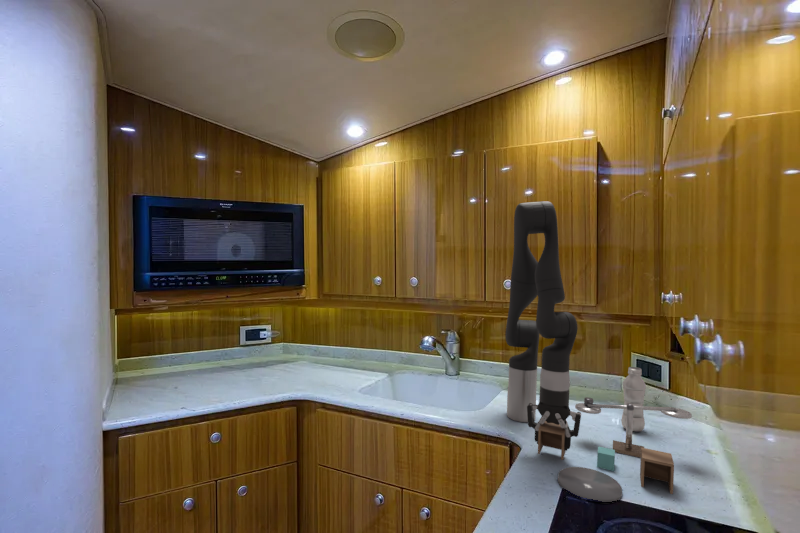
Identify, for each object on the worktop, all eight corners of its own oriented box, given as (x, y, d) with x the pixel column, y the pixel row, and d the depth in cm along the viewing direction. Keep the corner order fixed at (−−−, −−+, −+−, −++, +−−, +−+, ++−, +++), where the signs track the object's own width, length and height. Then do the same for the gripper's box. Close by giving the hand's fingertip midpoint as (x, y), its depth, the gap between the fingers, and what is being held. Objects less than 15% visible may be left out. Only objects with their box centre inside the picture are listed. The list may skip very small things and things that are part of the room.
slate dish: (546, 473, 105) (546, 469, 105) (594, 468, 108) (595, 464, 108) (581, 506, 91) (581, 501, 91) (636, 499, 94) (636, 495, 94)
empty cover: (640, 474, 105) (641, 447, 105) (669, 481, 102) (671, 453, 102) (641, 486, 100) (642, 457, 100) (672, 494, 97) (674, 464, 97)
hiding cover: (541, 444, 117) (542, 420, 117) (565, 450, 114) (566, 424, 114) (537, 453, 112) (538, 428, 111) (563, 459, 109) (564, 433, 108)
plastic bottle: (649, 433, 131) (652, 370, 130) (630, 434, 130) (632, 371, 129) (634, 425, 137) (637, 365, 137) (616, 426, 136) (618, 365, 136)
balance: (572, 443, 122) (574, 394, 122) (575, 435, 128) (576, 388, 128) (691, 469, 109) (693, 414, 108) (687, 458, 115) (689, 406, 115)
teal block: (597, 461, 112) (598, 446, 112) (614, 464, 110) (614, 449, 110) (596, 467, 109) (597, 452, 109) (614, 471, 107) (614, 456, 107)
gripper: (524, 384, 113) (522, 445, 113) (582, 394, 106) (579, 458, 106) (529, 377, 119) (527, 435, 120) (584, 386, 112) (582, 447, 113)
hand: (552, 446), depth 113 cm, fingers closed on hiding cover, 6 cm apart
